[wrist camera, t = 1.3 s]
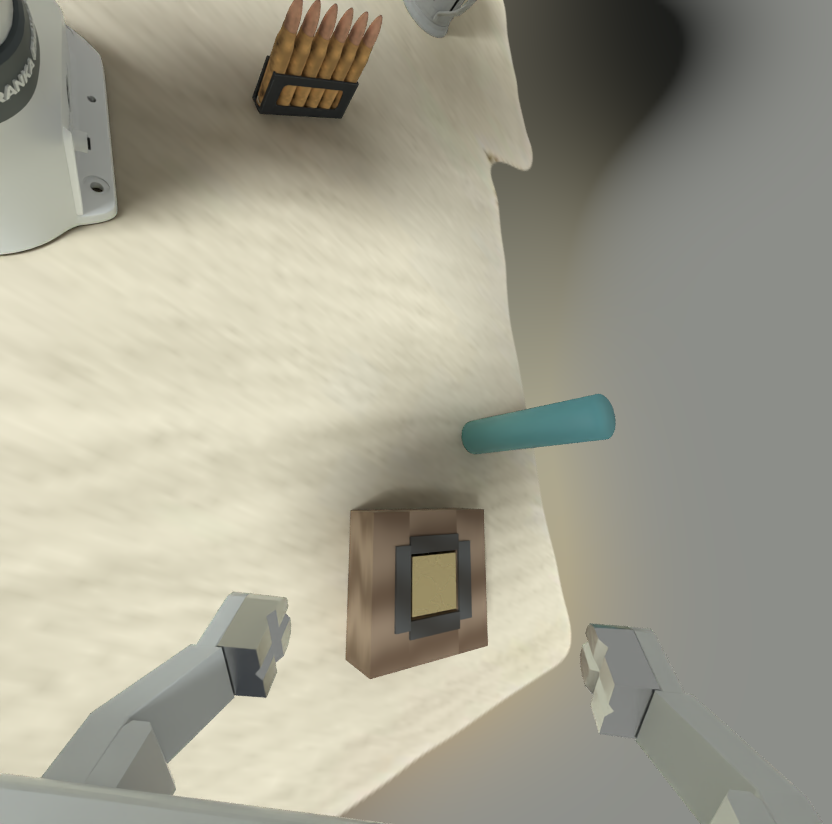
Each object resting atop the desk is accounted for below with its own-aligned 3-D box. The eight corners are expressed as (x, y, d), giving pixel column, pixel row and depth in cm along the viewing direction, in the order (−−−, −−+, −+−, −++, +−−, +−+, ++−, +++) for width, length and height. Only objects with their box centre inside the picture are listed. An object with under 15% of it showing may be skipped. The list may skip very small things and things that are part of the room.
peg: (461, 419, 52) (587, 390, 38) (485, 422, 55) (613, 397, 40) (461, 453, 52) (591, 437, 37) (487, 455, 54) (617, 441, 39)
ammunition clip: (335, 103, 49) (385, 8, 40) (342, 118, 49) (392, 27, 40) (251, 96, 43) (286, -19, 33) (259, 113, 43) (295, 4, 34)
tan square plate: (406, 555, 40) (412, 557, 39) (449, 551, 43) (455, 552, 42) (406, 614, 39) (412, 617, 38) (450, 606, 42) (456, 608, 41)
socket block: (350, 510, 42) (375, 512, 37) (455, 508, 49) (485, 509, 45) (345, 659, 39) (371, 680, 35) (457, 632, 47) (489, 646, 42)
